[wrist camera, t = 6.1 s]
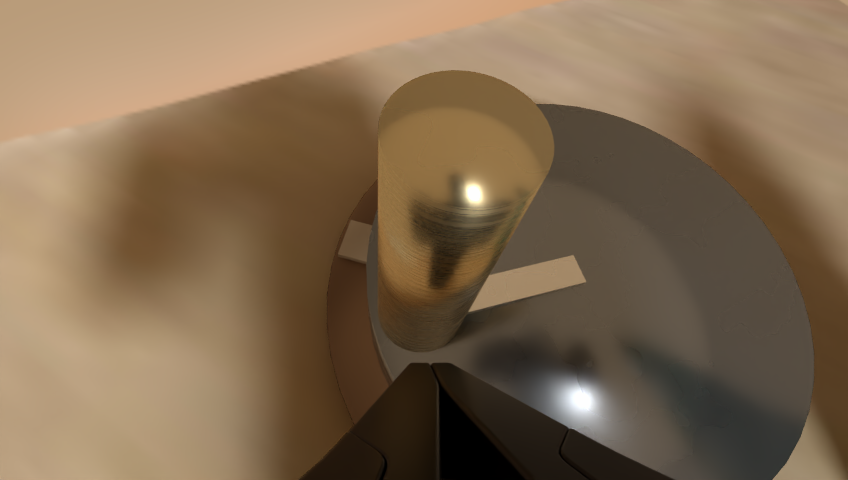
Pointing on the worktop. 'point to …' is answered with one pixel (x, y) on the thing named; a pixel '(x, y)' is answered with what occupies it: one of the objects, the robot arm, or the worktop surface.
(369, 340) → the stand base
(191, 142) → the worktop surface
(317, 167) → the worktop surface
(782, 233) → the worktop surface
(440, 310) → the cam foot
